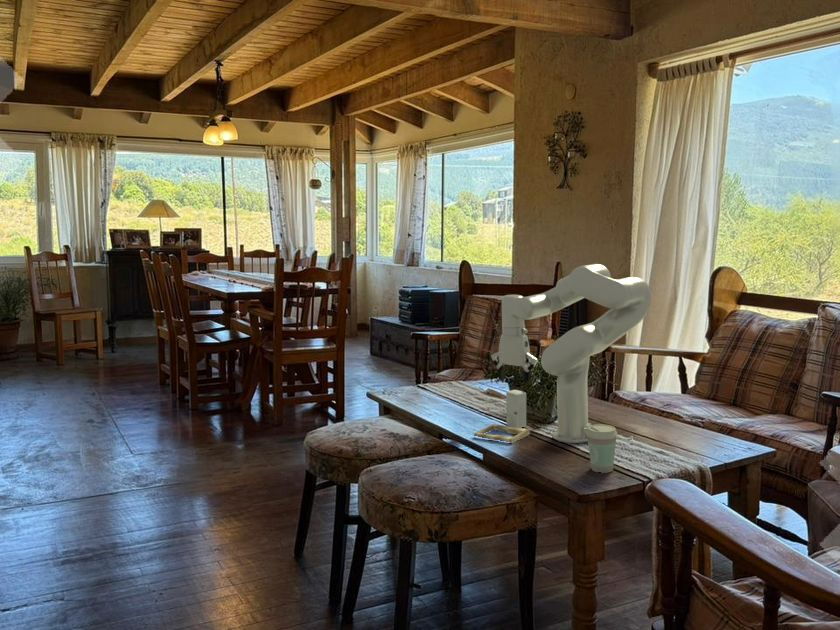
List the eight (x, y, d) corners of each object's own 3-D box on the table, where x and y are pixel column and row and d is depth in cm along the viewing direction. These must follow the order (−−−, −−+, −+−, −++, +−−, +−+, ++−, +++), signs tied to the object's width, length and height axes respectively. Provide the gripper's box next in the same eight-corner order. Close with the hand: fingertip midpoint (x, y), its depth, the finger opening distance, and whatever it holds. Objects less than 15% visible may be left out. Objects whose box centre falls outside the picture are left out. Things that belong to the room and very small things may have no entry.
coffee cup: (587, 463, 208) (586, 423, 206) (618, 465, 205) (617, 424, 204) (585, 474, 200) (584, 432, 198) (617, 475, 197) (616, 433, 196)
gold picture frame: (529, 434, 238) (529, 429, 238) (512, 444, 228) (511, 439, 228) (492, 428, 246) (492, 424, 246) (474, 438, 237) (474, 433, 236)
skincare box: (506, 425, 249) (504, 391, 247) (516, 423, 251) (515, 389, 250) (517, 429, 244) (516, 394, 242) (527, 427, 246) (526, 392, 244)
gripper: (541, 331, 241) (542, 381, 244) (496, 328, 251) (497, 376, 254) (531, 335, 235) (532, 386, 238) (485, 331, 245) (486, 380, 248)
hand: (514, 381), depth 246 cm, fingers open, 9 cm apart
